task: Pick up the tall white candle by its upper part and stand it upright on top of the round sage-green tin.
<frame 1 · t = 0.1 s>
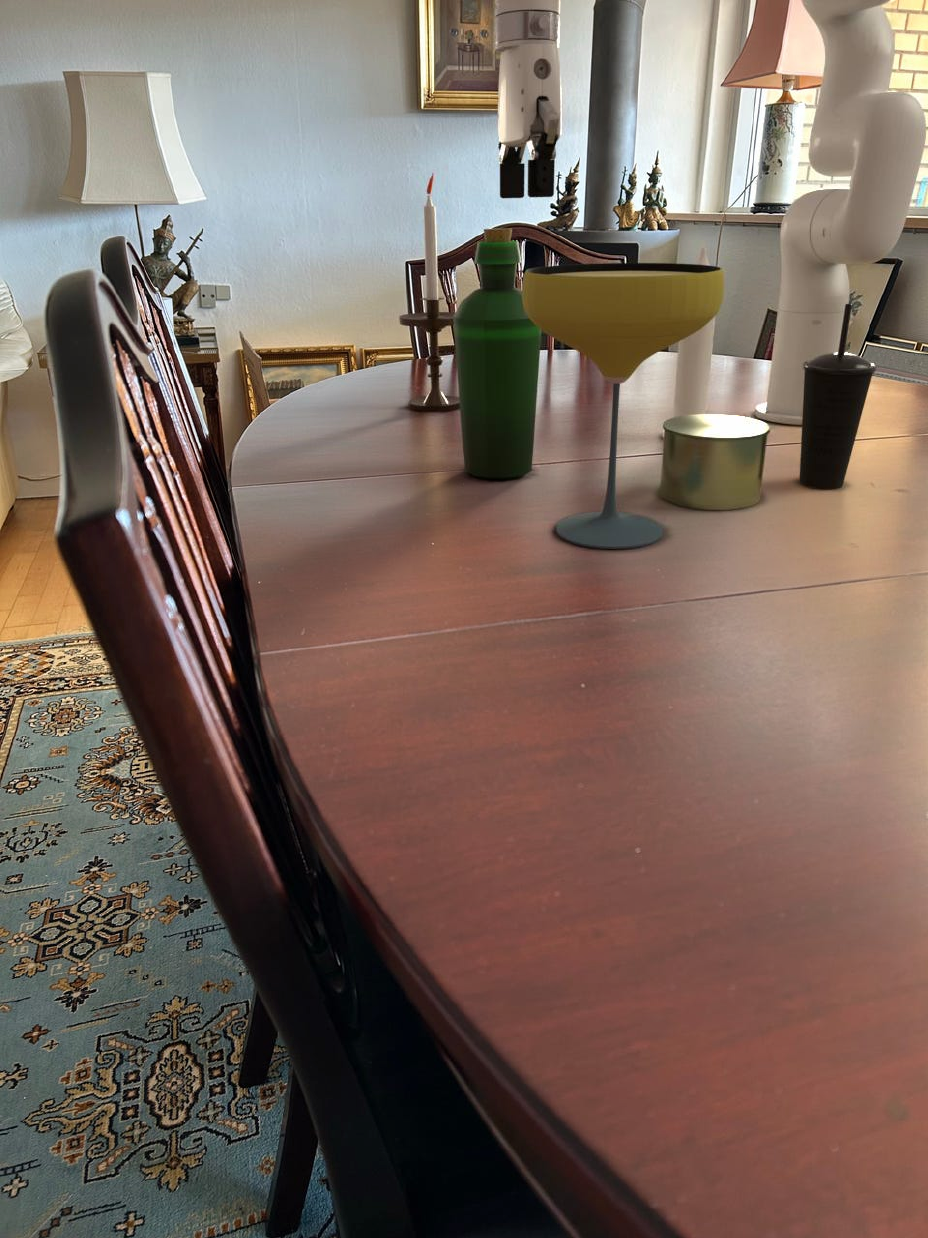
hand: (525, 197, 111), 31 cm above the table, tool pointing down, fingers open, 9 cm apart
tin: (709, 495, 102), on the table
cocktail glass: (608, 532, 91), on the table
candlestick: (436, 407, 149), on the table
drinking cup: (820, 485, 105), on the table
candle: (687, 438, 126), on the table
bottle: (498, 473, 112), on the table
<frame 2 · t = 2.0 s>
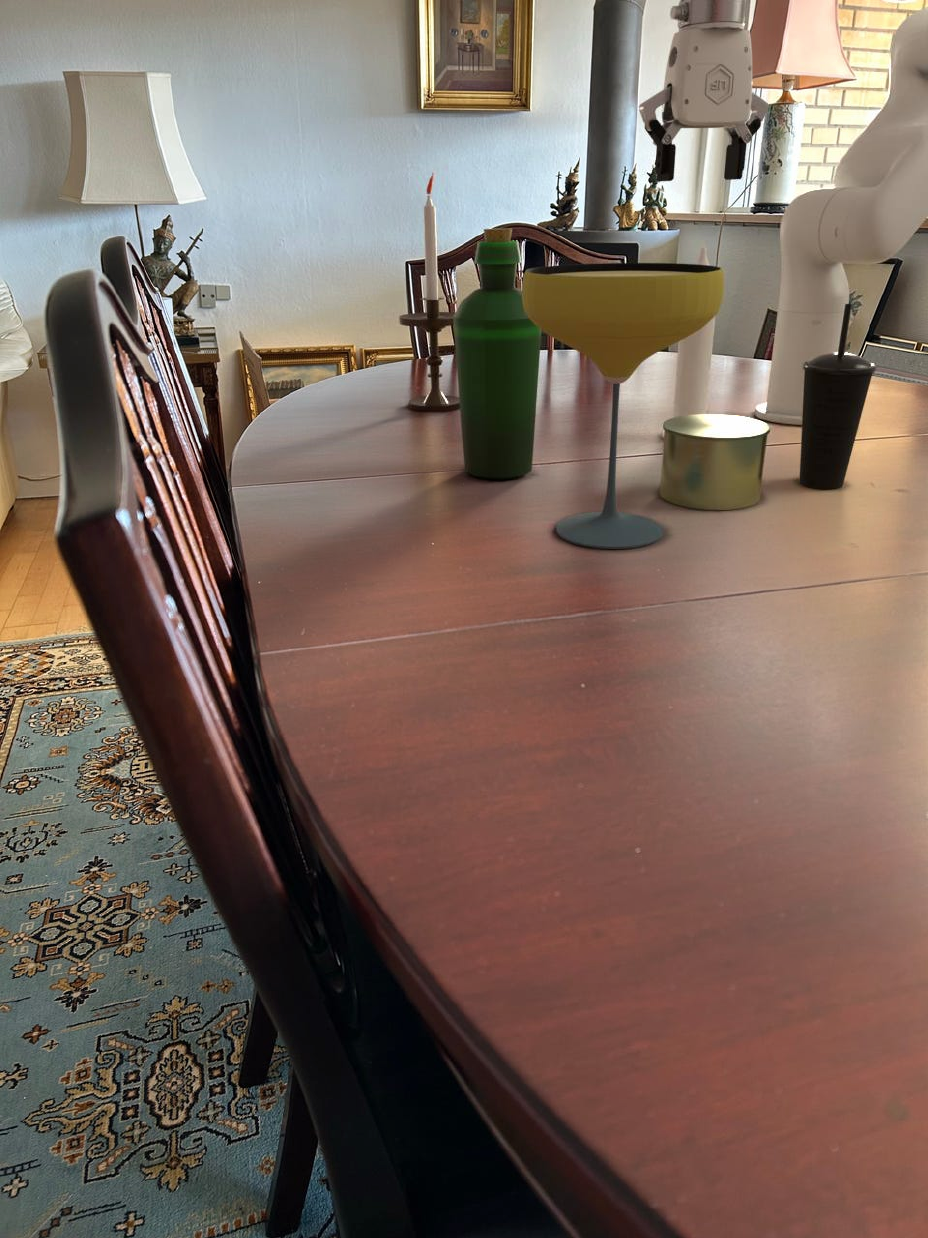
hand: (699, 180, 112), 33 cm above the table, tool pointing down, fingers open, 9 cm apart
nothing on the table moved.
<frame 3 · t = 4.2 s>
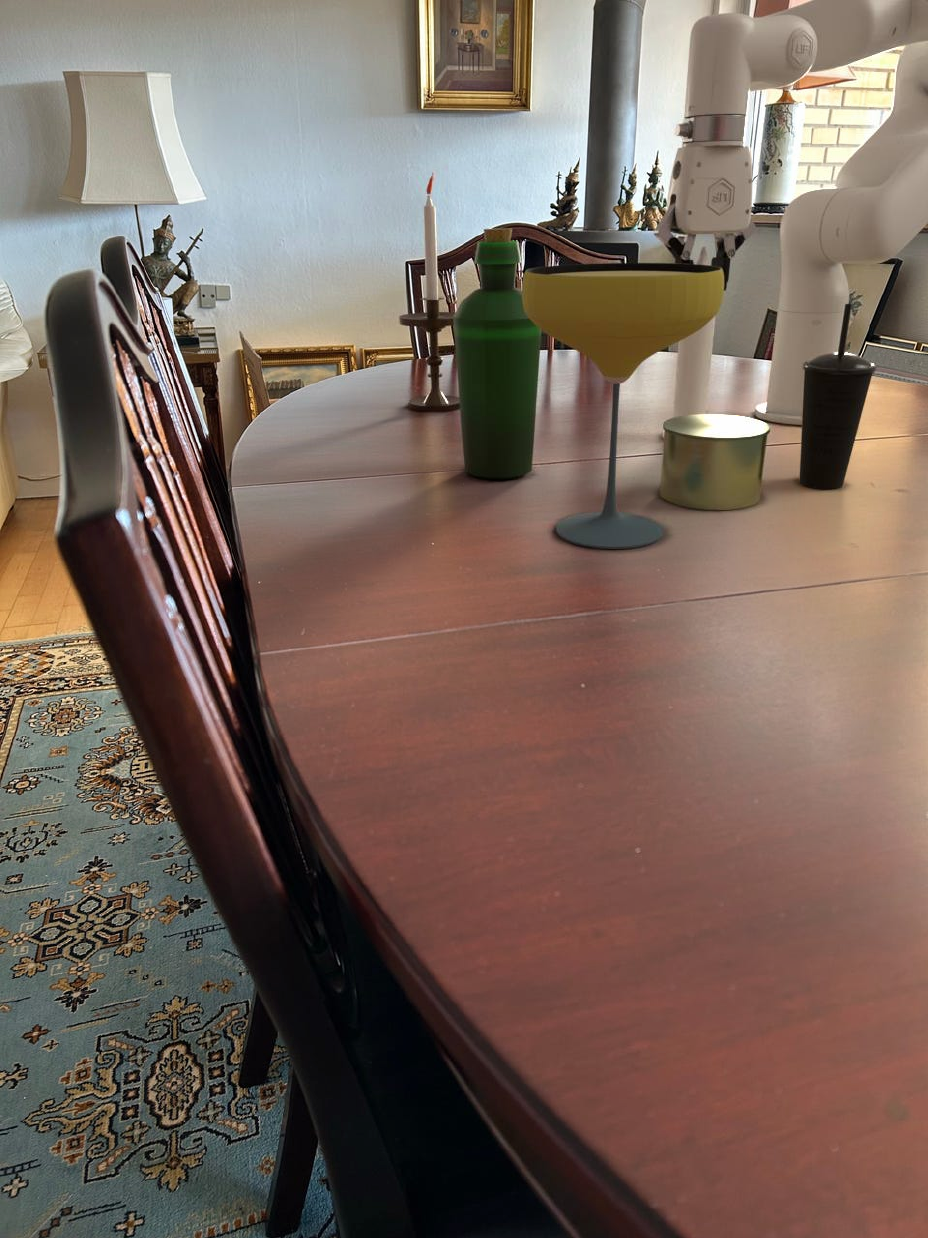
hand: (700, 289, 118), 20 cm above the table, tool pointing down, fingers closed on candle, 4 cm apart
candle: (687, 438, 126), on the table, touching gripper
everything else where it was.
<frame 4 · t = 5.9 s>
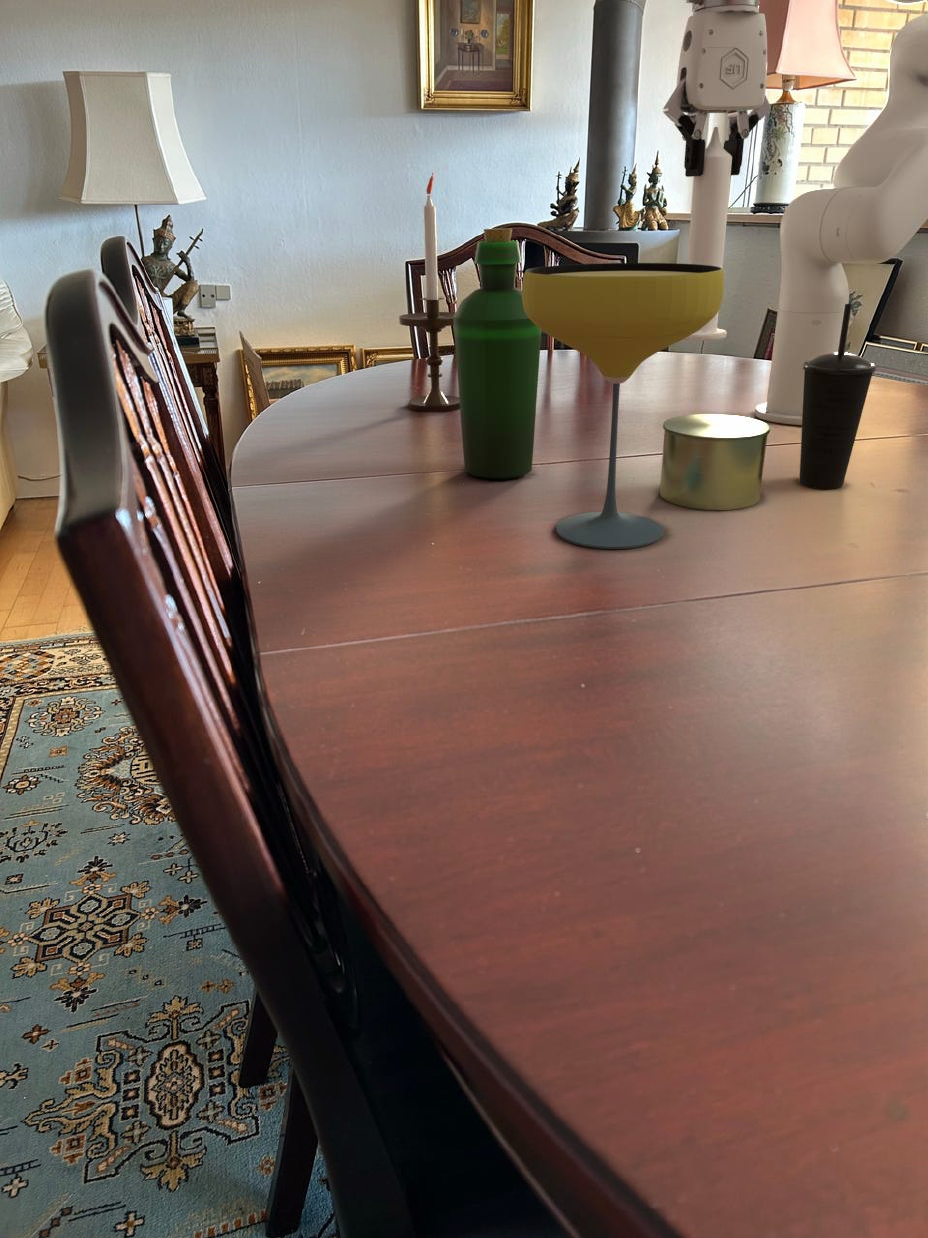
hand: (712, 173, 112), 33 cm above the table, tool pointing down, fingers closed on candle, 4 cm apart
candle: (699, 338, 121), point 13 cm above the table, touching gripper
everything else where it was.
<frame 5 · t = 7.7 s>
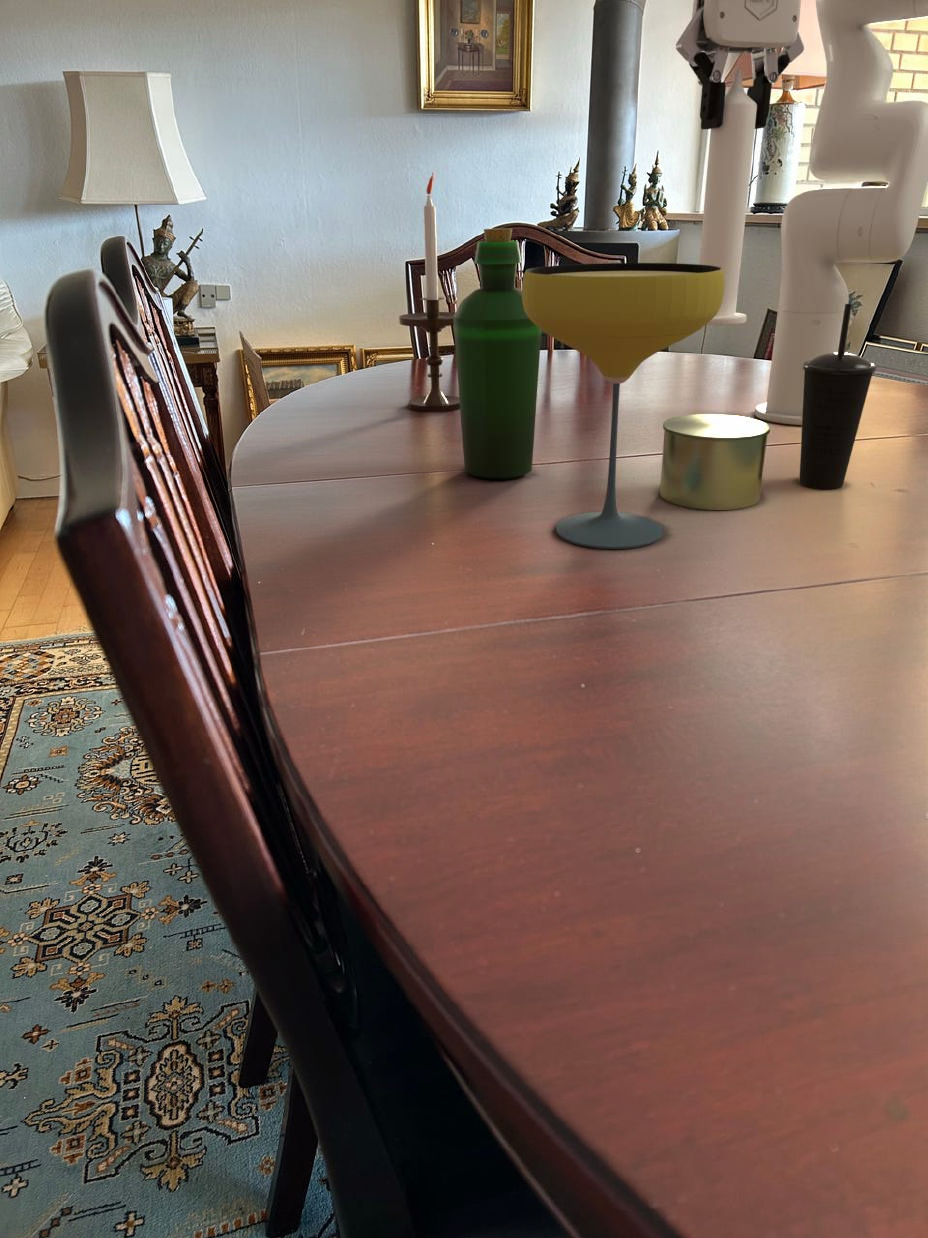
hand: (733, 126, 94), 38 cm above the table, tool pointing down, fingers closed on candle, 4 cm apart
candle: (714, 323, 103), point 18 cm above the table, touching gripper
everything else where it was.
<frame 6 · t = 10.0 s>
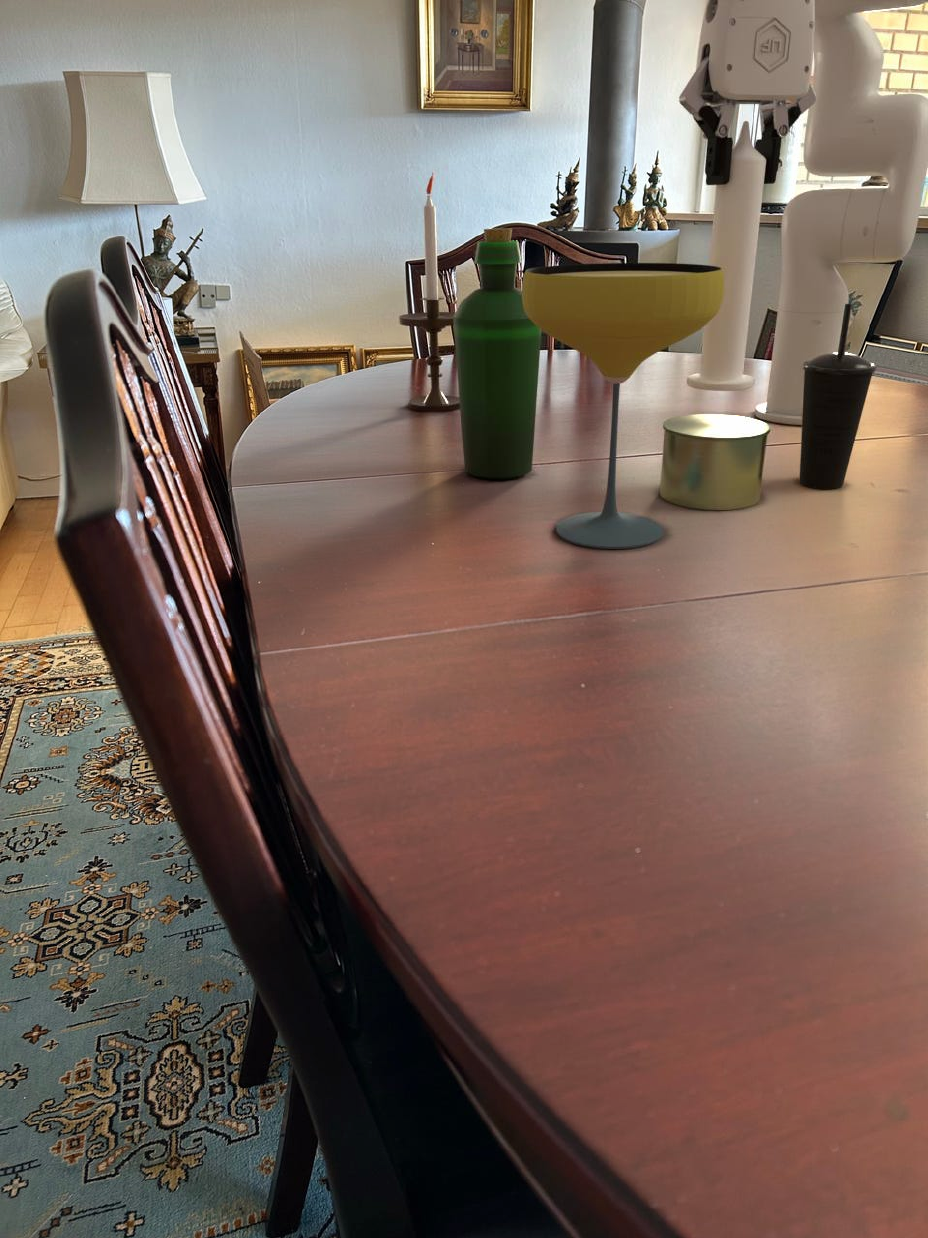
hand: (740, 181, 88), 32 cm above the table, tool pointing down, fingers closed on candle, 4 cm apart
candle: (719, 386, 96), point 12 cm above the table, touching gripper
everything else where it was.
when the fingers open (28 cm above the table, at t = 11.6 s): candle stays where it is, resting on tin.
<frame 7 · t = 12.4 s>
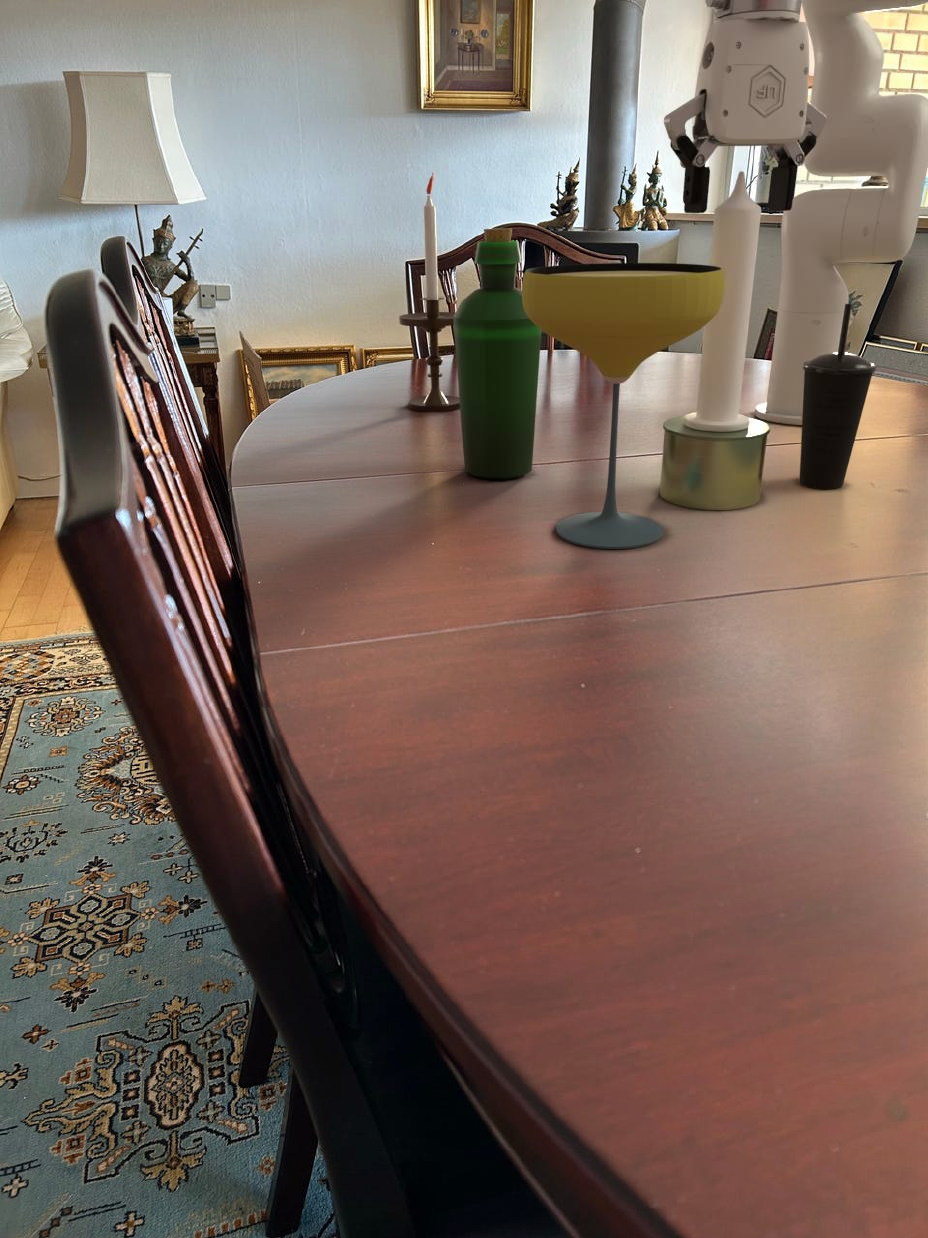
hand: (737, 211, 89), 29 cm above the table, tool pointing down, fingers open, 9 cm apart
candle: (716, 426, 98), point 8 cm above the table, touching tin
everything else where it was.
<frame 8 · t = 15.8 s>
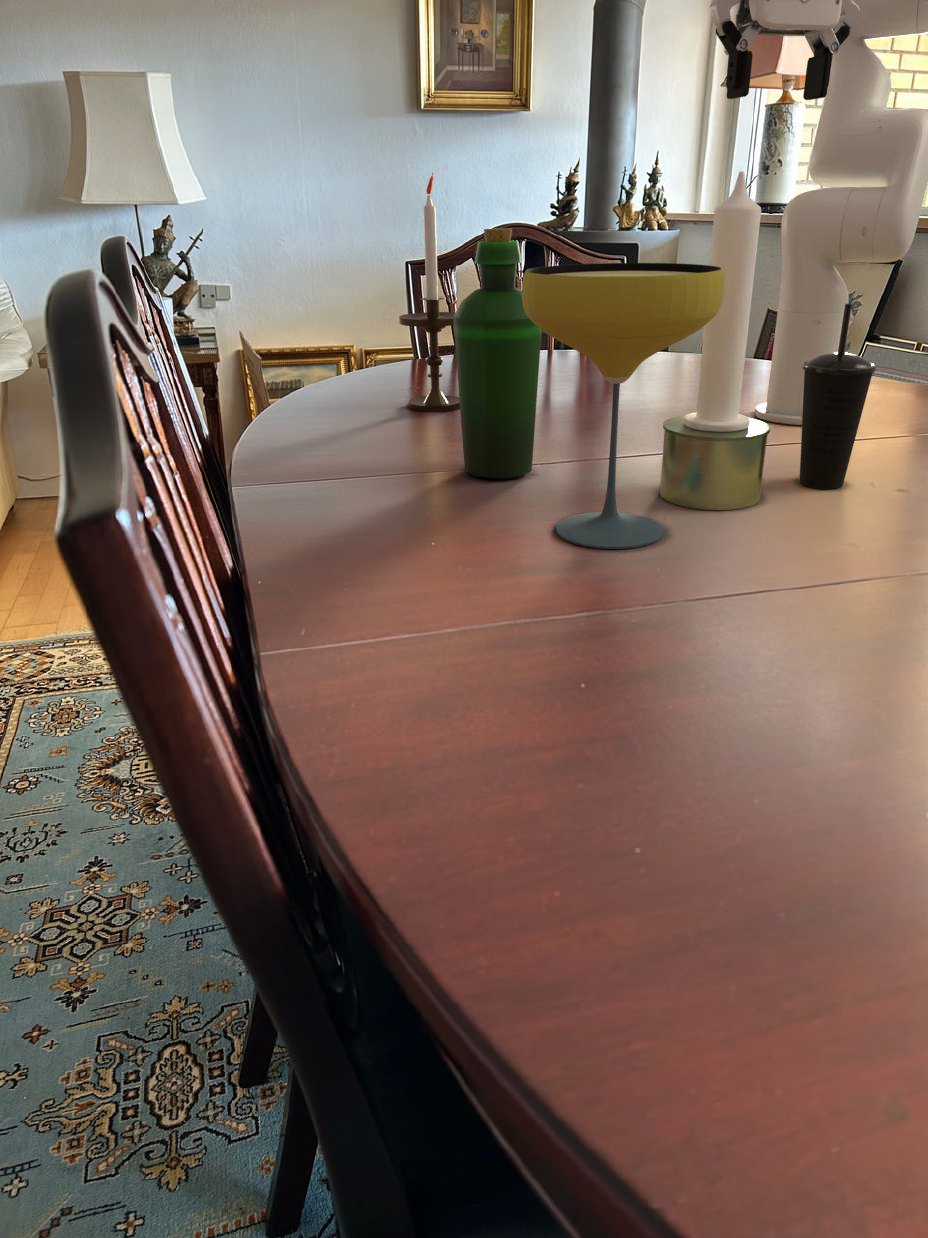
hand: (776, 97, 96), 40 cm above the table, tool pointing down, fingers open, 9 cm apart
nothing on the table moved.
at the end: candle 0.1 cm off-centre on the tin, point 7.8 cm above the tin's base; candle tilted 0° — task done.
